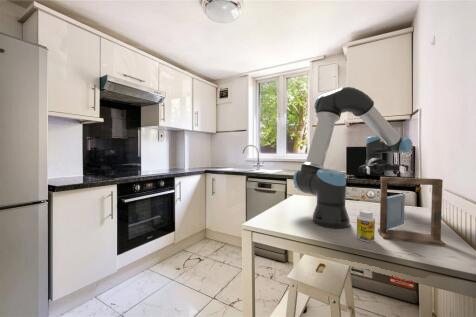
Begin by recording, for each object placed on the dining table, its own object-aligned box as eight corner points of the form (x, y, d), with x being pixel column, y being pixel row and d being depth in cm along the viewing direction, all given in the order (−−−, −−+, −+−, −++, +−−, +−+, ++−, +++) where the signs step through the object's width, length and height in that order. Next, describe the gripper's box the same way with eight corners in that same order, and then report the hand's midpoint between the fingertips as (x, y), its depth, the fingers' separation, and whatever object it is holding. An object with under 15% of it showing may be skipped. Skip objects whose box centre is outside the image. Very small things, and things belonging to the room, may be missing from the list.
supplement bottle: (358, 241, 75) (359, 213, 75) (355, 235, 81) (355, 208, 80) (376, 243, 74) (377, 214, 73) (371, 237, 79) (372, 210, 78)
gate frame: (382, 238, 78) (384, 178, 77) (377, 230, 85) (378, 175, 84) (445, 246, 71) (447, 180, 70) (433, 237, 79) (435, 177, 78)
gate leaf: (386, 229, 81) (387, 198, 80) (382, 228, 82) (383, 197, 82) (404, 223, 87) (404, 194, 87) (399, 222, 89) (400, 194, 88)
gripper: (406, 171, 111) (421, 179, 91) (351, 172, 121) (355, 179, 101) (405, 157, 110) (421, 161, 91) (351, 159, 120) (354, 163, 101)
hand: (386, 170), depth 96 cm, fingers open, 13 cm apart
